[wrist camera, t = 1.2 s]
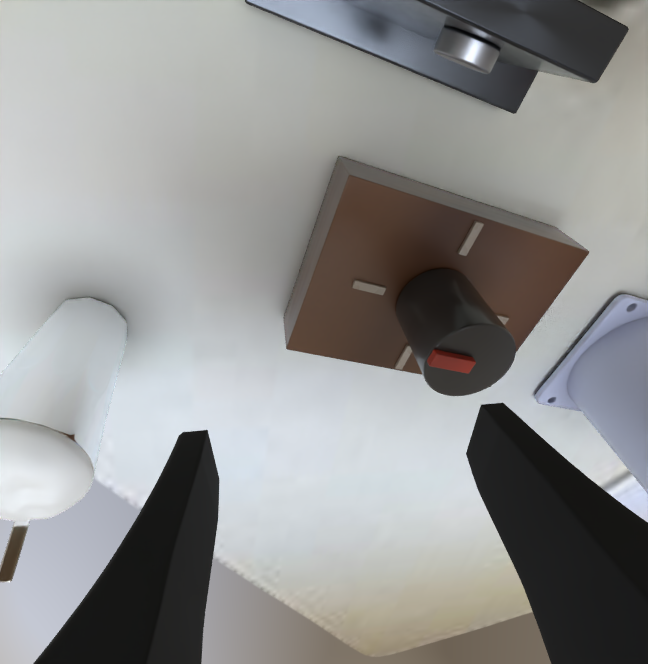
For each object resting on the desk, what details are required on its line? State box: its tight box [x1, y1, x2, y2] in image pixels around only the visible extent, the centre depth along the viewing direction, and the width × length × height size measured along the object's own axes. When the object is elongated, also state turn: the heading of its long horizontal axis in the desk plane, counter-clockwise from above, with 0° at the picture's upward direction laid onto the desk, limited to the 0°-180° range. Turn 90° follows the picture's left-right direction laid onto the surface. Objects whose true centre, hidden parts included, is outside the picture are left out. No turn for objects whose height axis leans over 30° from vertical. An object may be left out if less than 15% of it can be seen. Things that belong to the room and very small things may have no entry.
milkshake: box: [0, 297, 127, 582], centre depth 17 cm, size 4×5×10 cm
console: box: [284, 156, 589, 387], centre depth 20 cm, size 11×8×3 cm
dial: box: [396, 269, 516, 396], centre depth 17 cm, size 3×3×4 cm
